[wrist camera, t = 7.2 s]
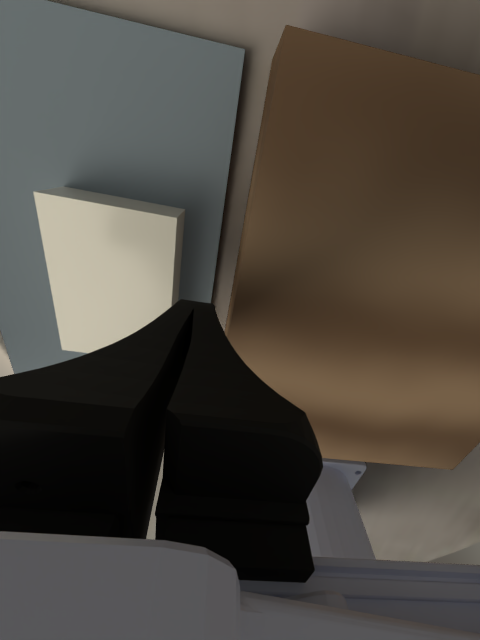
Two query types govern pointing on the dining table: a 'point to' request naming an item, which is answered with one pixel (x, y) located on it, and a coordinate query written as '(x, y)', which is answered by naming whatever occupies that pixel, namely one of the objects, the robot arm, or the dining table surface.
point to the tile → (108, 263)
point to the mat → (105, 144)
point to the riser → (366, 251)
